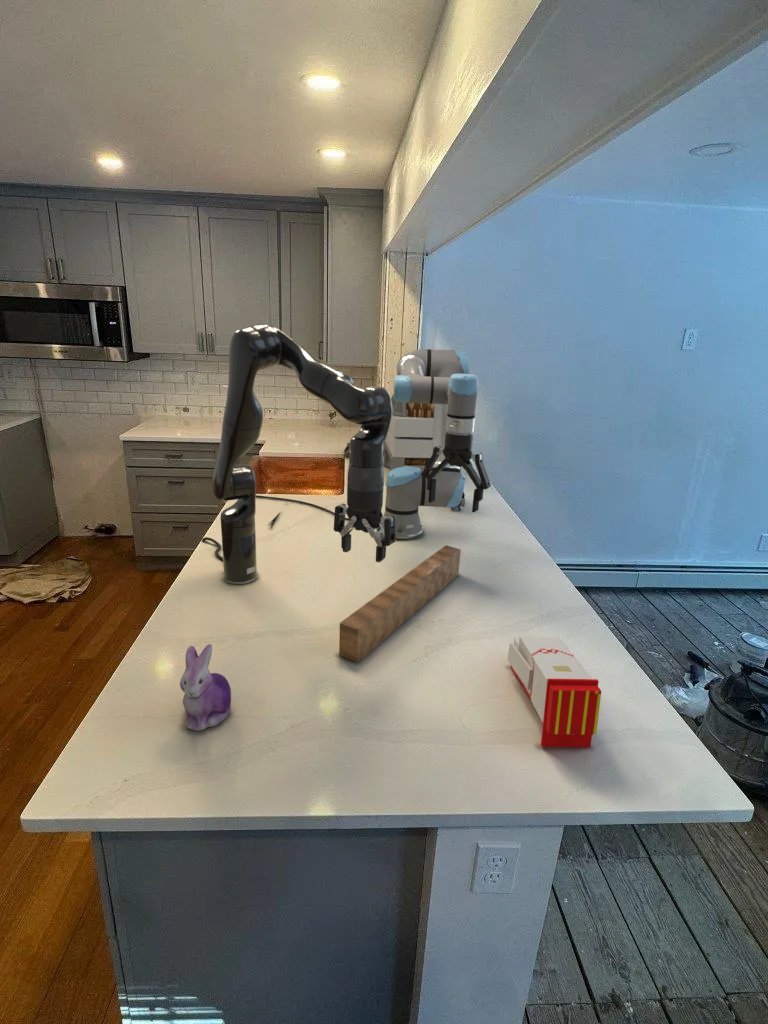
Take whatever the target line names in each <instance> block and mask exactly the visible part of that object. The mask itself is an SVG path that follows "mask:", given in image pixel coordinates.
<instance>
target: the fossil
mask: <svg viewBox="0 0 768 1024" xmlns="http://www.w3.org/2000/svg"><path fill="white" fill-rule="evenodd" d="M349 447H350V442H347V443H346V446H345V448H344V450H343V457H344V458H348V459H349Z"/></svg>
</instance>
